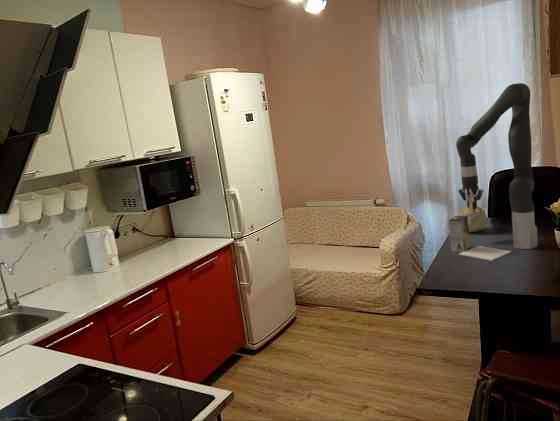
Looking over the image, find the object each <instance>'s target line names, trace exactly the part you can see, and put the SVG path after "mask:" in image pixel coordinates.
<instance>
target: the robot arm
mask: <svg viewBox="0 0 560 421" xmlns="http://www.w3.org/2000/svg"><path fill="white" fill-rule="evenodd" d="M530 104H531V90H530V87H529V86H528V85H527V84H526V83H522V82H519V83H512V84H509V85H508V86H506V88H505V89H504V90H503V91H502V93H501V94H500V95H499V97H498V98H497V99H496V101H495V102H494V103H493V105H491V107H490V108H489V109H488V110H487V111H486V112H485V113H484V114H483V115H482V116H481V117H480V118H479V119H478V120H477V121H476V122H475V123H474V124H473V125H472V126H471V127H470V131H469V132H468V133H467V134H464V135H461V136H459V137H458V138H457V140H456V141H455V142H456V145H455V146H456V150H457V153H458V156H459V158H460V159H459V160H460V161H459V162H460V177H461V178H460V179H461V184H462V188H461V189H458V193H459V196H460V197H461V198H462V200H463V201H465V202H466V207H468V209H470V208H469V199H468V197H471V198H472V207H473V209H476V208H477V206H478V201H480V200H481V198H482V196H483V194H484V189H481V188H479V175H478V167H477V161H476V155H475V154H474V153H472V150H471V149H473V148H474V147H476V145H477V144H478V143H479V142H480V141H481V140H482V138H483V137H484V136H485V135H486V134H487V133H488V132H489V131H491V129H492V128H493V127H495V125H496V124H497V123H498V121H499V119H500V118H501V117H502V116H503V115H504V114H505V113H506V112H507V111H508V110H509V109H511V111H512V112H511V113H512V114H511V122H510V125H509V130H508V136H507V141H508V151H509V154H510V158H511V160H512V165H513V180H512V181H511V182H510V184H509V187H508V190H509V192H508V194H509V203H510V204H509V205H510V208H511V222H512V223H511V225H512V226H511V227H512V240H513V241H512V243H513V248H515V249H517V250H519V249H521V250H531V249H534V248H537V247H538V246H539V245H538V227H537V226H536V224H535V222H536V221H535V205H534V203H533V193H532V192H534V189H535V180H534V174H533V169H532V152H533V151H532V132H531V120H530V119H531V118H530V116H531V114H530V111H531V110H530V108H531V107H530V106H531V105H530Z"/></svg>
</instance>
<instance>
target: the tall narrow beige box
mask: <svg viewBox="0 0 560 421" xmlns="http://www.w3.org/2000/svg"><path fill="white" fill-rule="evenodd" d="M468 199H469V208H470V209H469V210H470V213H467V214H466V216H468V224H471V223H474V222H477V221H479V220H480V211H477V210H476V209H473V207H472V198H471V197H468Z"/></svg>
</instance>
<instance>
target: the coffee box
mask: <svg viewBox="0 0 560 421" xmlns="http://www.w3.org/2000/svg"><path fill="white" fill-rule="evenodd" d="M448 225H449V226H448V227H449V237H450V249H451V252H459V253H462V252H464V251H467V250H469V248H470V247H471V243H470V242H471V241H470V232H469V226H468V216H459V215H454V216H453V217H451V218H450V219H448Z"/></svg>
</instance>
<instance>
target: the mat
mask: <svg viewBox="0 0 560 421" xmlns="http://www.w3.org/2000/svg"><path fill="white" fill-rule="evenodd" d="M510 253H512V250H506V249H501V248H494V247H487V246H481V245H478V246H474V247H472V248H470V249H469V248H468V249H467V250H466V251H464V252H459V253H458V255H459V256H464V257H465V256H466V257H469V258H476V259H480V260H486V261H494V260H497V259H499V258H502V257H504V256H506V255H508V254H510Z"/></svg>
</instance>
